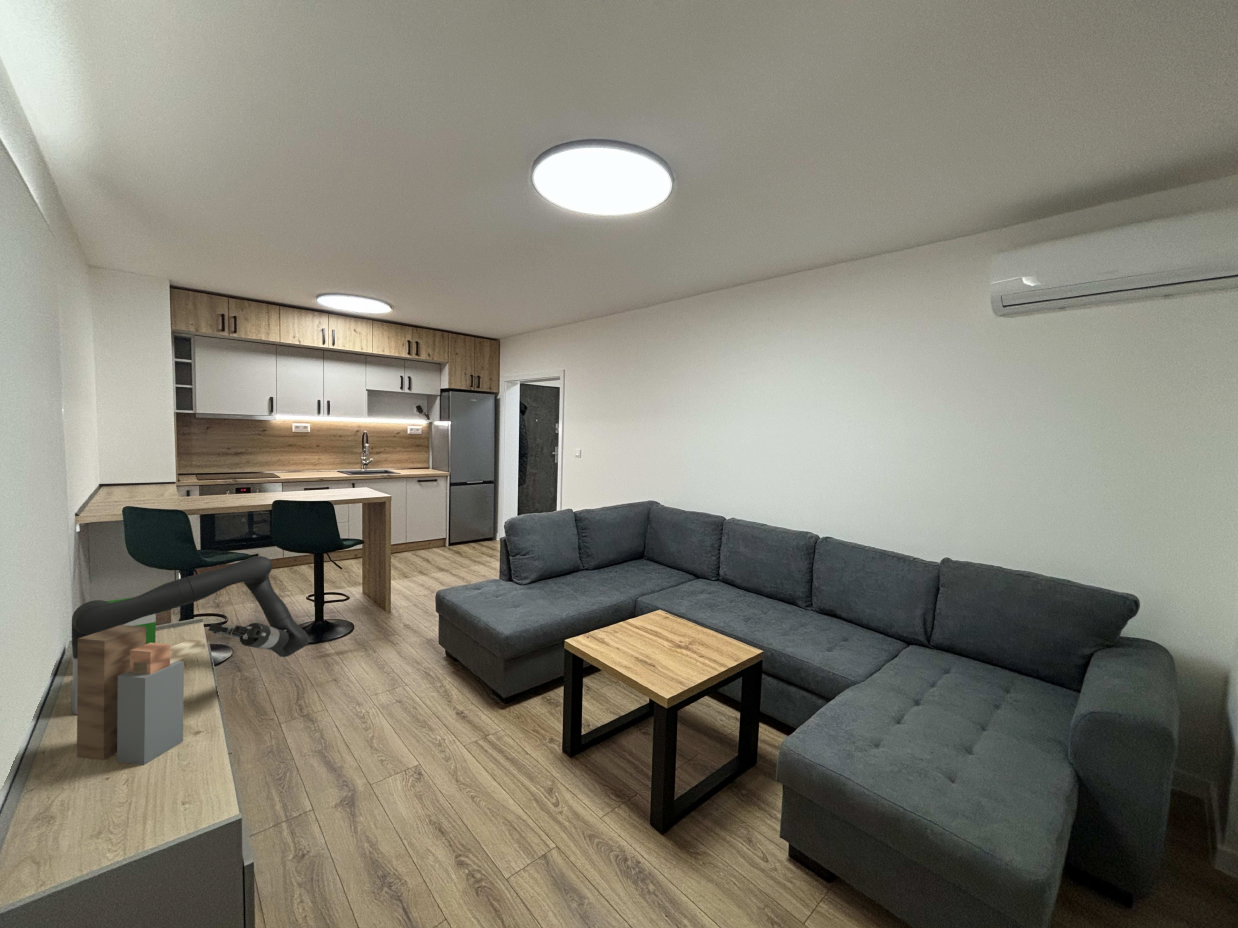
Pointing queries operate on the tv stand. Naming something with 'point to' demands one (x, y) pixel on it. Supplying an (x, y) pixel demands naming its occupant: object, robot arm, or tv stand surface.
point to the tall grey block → (149, 713)
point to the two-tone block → (162, 655)
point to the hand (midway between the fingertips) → (222, 627)
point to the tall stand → (102, 687)
